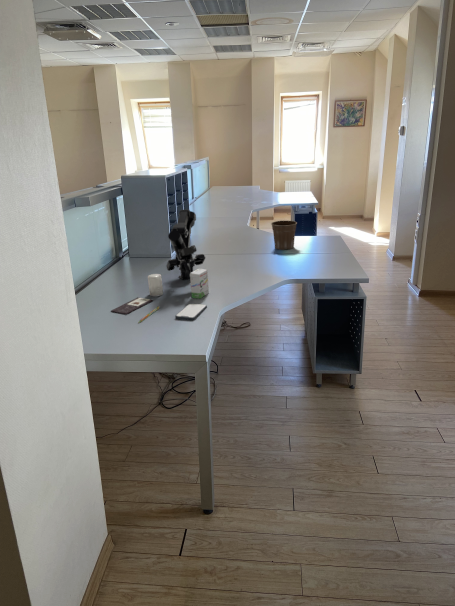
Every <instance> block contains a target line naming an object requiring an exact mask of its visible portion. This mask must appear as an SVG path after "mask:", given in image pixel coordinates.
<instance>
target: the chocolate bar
mask: <svg viewBox="0 0 455 606" xmlns="http://www.w3.org/2000/svg"><path fill="white" fill-rule="evenodd" d="M153 301H154V300H153V299H150V298H143V297H138V296H137V297H135V298H134V299H132V300H130V301H127V302H125V303H124V304H122V305H119V306H118V307H116V308H114V309H112V310H110V312H111V313H114V312H115V313H116V314H120V315H125V316H126V315H127V316H128V315H129V314H132V313H133V312H135V311H137V310H138V309H141V308H143V307H145V306H146V305H149V304H151V303H152V302H153Z"/></svg>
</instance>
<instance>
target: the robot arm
mask: <svg viewBox="0 0 455 606" xmlns="http://www.w3.org/2000/svg"><path fill="white" fill-rule="evenodd" d="M196 220H197V215H196V213H195V212H194V211H191V210H190V209H180V210H179V213H178V220H177V221H176V222H177V223H176V224H174V225H173V227H172V229H171V230H170V232H169V233H168V235H167V238H168V239H169V242H170V244H171V245H172V248H173V250H174V252H175V258H174V259H168V260H167V263H166V269H167V271H174V270H175V267H176V268H179V269H178V270H180V275H178V278H180V279H182V280H190V273H191V272H193V271H194V267H195V266H199V265H203V264H204V262H205V260H206V256H205V254H203V253H199V254H196V255H195V257H193V255H194V254H195V253H196V252H197V250H198V249H197V247H196V245H193V244H192V245H190V244H191V237H192V236H191V235H192V234H191V233H192V228H193V227H194V226H195V222H196Z"/></svg>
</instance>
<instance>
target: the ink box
mask: <svg viewBox="0 0 455 606" xmlns="http://www.w3.org/2000/svg"><path fill="white" fill-rule="evenodd" d="M189 280H190V281H189V283H190V293H191V298H193V299H202V298H203V297H205V296H207V295H208V294H209V292H210V291H209V274H208V269H205V268H197V269H196V270H193V272H191V273H190V278H189Z"/></svg>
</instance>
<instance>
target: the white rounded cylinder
mask: <svg viewBox="0 0 455 606" xmlns="http://www.w3.org/2000/svg"><path fill="white" fill-rule="evenodd" d="M147 281H148V282H147V283H148V292H149V296H151V297H158V296H162V295H163V294H164V288H163V279H162V274H160V273H152V274H149V275H147Z"/></svg>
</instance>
